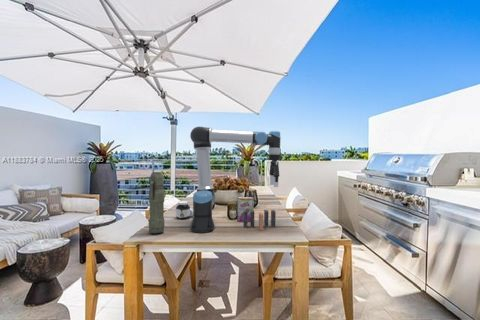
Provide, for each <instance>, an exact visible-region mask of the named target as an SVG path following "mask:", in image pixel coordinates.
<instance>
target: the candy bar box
mask: <svg viewBox="0 0 480 320" xmlns="http://www.w3.org/2000/svg"><path fill="white" fill-rule="evenodd" d="M254 201H255V199H254V197H247V196H246V197H245V196H239V197H237V205H236V206H237V208H236V209H237V212H236V213H237V215H236V217H237V218H236V221H237V222H243V223H244V210H247V223H250V216H251V210H254Z"/></svg>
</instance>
